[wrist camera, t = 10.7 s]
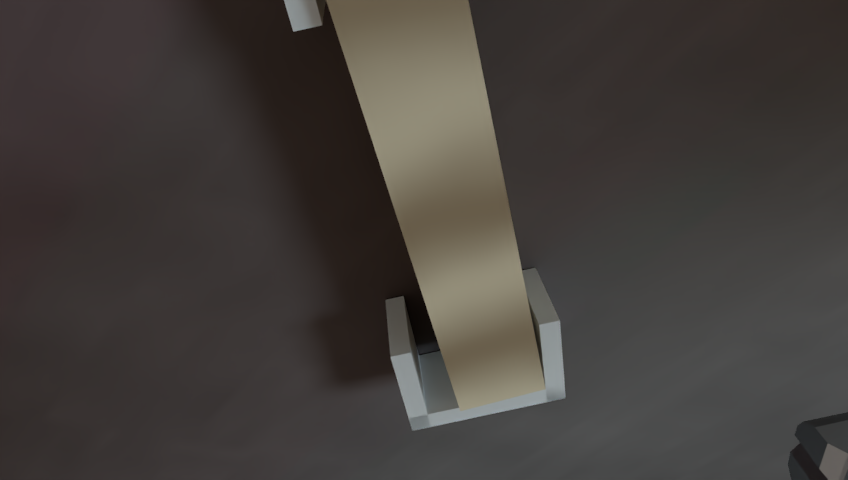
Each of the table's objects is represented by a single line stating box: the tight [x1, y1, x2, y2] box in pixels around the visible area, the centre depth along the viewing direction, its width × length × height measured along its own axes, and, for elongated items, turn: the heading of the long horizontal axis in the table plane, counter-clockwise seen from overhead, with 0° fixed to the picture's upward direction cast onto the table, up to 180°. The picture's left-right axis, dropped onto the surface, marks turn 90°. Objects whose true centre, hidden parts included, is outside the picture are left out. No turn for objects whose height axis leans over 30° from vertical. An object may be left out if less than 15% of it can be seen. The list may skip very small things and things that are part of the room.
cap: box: [385, 268, 566, 431], centre depth 25 cm, size 4×7×4 cm
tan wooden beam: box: [326, 0, 546, 411], centre depth 21 cm, size 18×4×4 cm, turn 14°
